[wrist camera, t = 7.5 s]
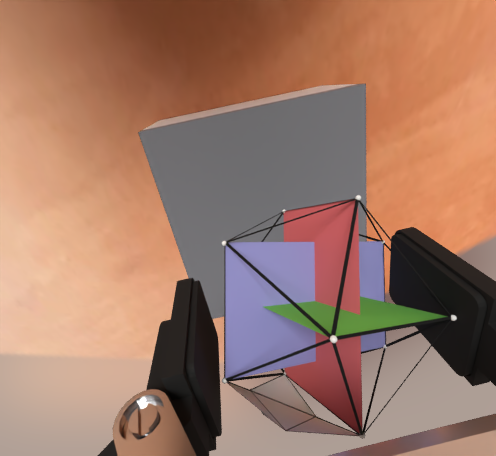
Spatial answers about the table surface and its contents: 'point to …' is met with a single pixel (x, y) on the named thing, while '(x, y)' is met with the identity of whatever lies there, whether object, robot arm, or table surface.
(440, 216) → the table surface
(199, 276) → the grey stand
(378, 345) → the geometric puzzle
